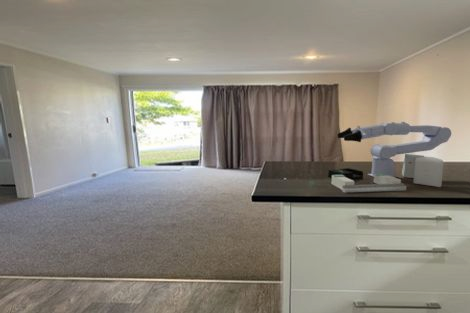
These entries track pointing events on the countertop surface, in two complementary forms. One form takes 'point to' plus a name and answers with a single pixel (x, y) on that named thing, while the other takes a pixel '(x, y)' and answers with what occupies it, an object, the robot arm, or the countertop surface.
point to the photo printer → (428, 171)
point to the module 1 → (341, 181)
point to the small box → (409, 165)
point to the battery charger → (347, 173)
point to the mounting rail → (373, 187)
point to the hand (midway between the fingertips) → (340, 137)
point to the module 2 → (385, 179)
